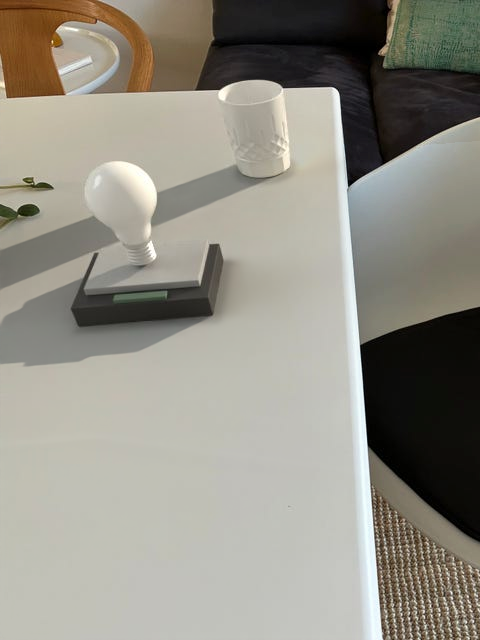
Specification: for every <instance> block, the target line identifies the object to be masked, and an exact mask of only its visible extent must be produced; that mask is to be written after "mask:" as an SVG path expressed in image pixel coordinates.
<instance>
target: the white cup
mask: <svg viewBox="0 0 480 640" xmlns="http://www.w3.org/2000/svg"><path fill="white" fill-rule="evenodd" d="M216 97H217V100H218V104H219V107H220V111H221V115H222V118H223V122H224V125H225V129H226V133H227V136H228V139H229V143H230V147H231V149H232V151H233V153H234V158H235V162H236V166H237V169H238V171H239V172H240V174H242V175H243V176H247V177H250V178H257V179H259V178H260V179H261V178H262V179H264V178H271V177H275V176H278V175H280V174H282V173H285V172H286V171H287V170H288V169H289V168H290V167H291V155H290V147H289V146H290V140H289V139H290V138H289V129H288V119H287V111H286V103H285V96H284V89H283V86H282V85H281V84H279V83H277V82H274V81H272V80H265V79H250V80H249V79H248V80H242V81H238V82H233V83H231V84H228V85H225V86H224V87H222V88H221V89H220V90H218V92H217V96H216Z"/></svg>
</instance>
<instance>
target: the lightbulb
mask: <svg viewBox="0 0 480 640" xmlns="http://www.w3.org/2000/svg"><path fill="white" fill-rule="evenodd" d="M83 194H84V195H83V196H84V201H85V204H86V206H87V208H88V210H89V212H91V214H92V216H94V217H95V218H96V220H98V221H99V222H100V223H101V224H103V225H105V226H106V227H108V229H110V230H112V232H113V233H114V235H115V237H116V239H118V241H119V242H121V243H122V246H124V249H125V250H126V254H127V257H128V260H129V262H130V263H131V264H133V265H139V266H144V265H147V264H149V263H151V262H152V261H153V260H154V259H155V258H156V253H155V250H154V247H153V244H154V243H153V240H152V237H151V235H152V234H151V233H152V223H151V221H152V218H153V215H154V213H155V210H156V207H157V203H158V193H157V188H156V185H155V182H154V181H153V179H152V177H151V176H150V175H149V174H148V173H147V172H146V171H145V170H144V169H143V168H141V167H140V166H138V165H136V164H134V163H132V162H128V161H122V160H113V161H107V162H104V163H101V164H99V165H98V166H97V167H95V168H94V169H93V170H92V171H91V172H90V173H89V175H87V178H86V180H85V183H84V187H83Z"/></svg>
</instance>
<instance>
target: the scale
mask: <svg viewBox="0 0 480 640" xmlns="http://www.w3.org/2000/svg"><path fill="white" fill-rule="evenodd" d="M152 244H153V247H154V250H155V253H156V258H155V259H154V260H153V261H152V262H151V263H149V264H147V265H144V266H139V265H133V264H131V263H130V262H129V260H128V257H127V254H126V250H125V249H124V246H123V245H121V246H120V245H118V246H106V247H100V250H98V251H99V252H94V253H93V255H92V257H91V259H90V260H91V261H90V262H89V264H88V267H87V269H86V272H85V274H84V275H83V278H82V281H81V283H80V286H79V288H78V290H77V293H76V295H75V298H74V299H73V302H72V304H71V307H70V311H71V313H72V315H73V318H74V320H75V322H76V325H77V326H78V327H86V326H96V325H97V326H98V325H108V324H120V323H121V324H122V323H132V322H134V323H135V322H145V321H158V320H168V319H169V320H170V319H180V318H181V319H182V318H192V317H204V316H213V315H214V311H215V306H216V302H217V297H218V292H219V291H218V290H219V286H220V281H221V275H222V270H223V265H224V257H223V254H222V247H221V245H220V243H209V240H208V239H202V240H187V241H186V240H185V241H173V242H160V243H152Z"/></svg>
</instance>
